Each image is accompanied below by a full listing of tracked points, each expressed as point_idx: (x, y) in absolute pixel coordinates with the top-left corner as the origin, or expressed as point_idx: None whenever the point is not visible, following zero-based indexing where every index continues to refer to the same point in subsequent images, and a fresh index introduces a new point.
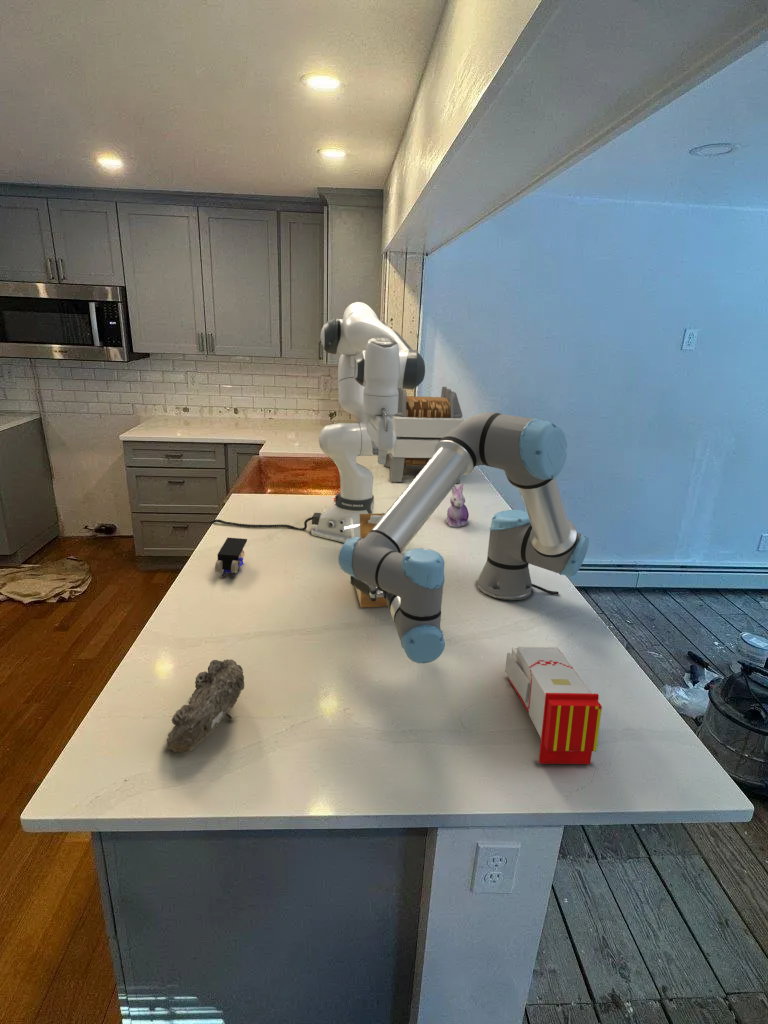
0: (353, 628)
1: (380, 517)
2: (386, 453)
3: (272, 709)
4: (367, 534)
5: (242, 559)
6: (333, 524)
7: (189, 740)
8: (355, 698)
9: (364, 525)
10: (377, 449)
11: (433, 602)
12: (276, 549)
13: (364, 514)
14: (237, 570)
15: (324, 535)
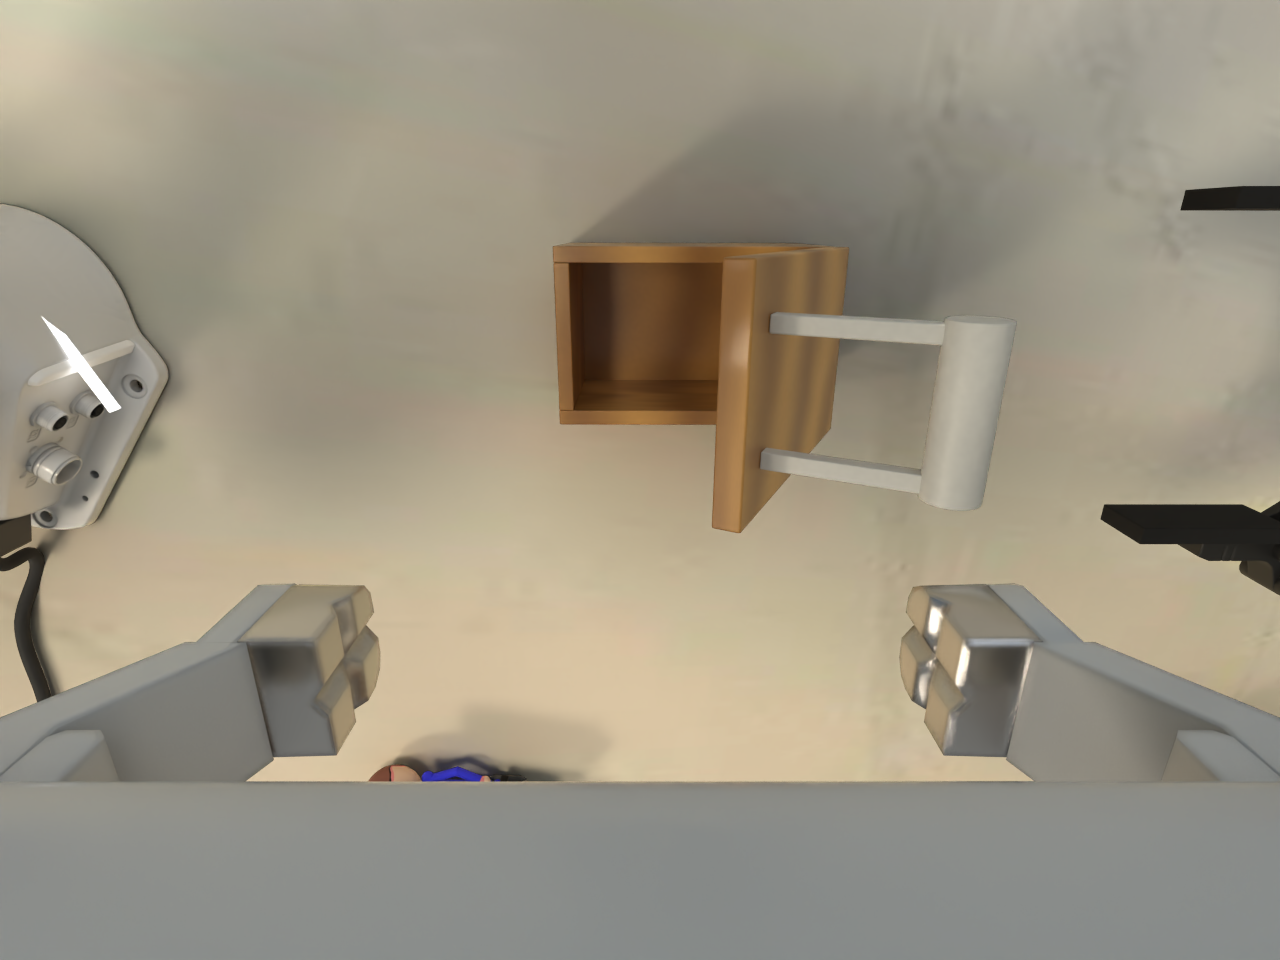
0: (920, 431)
1: (991, 442)
2: (1234, 709)
3: (1228, 658)
4: (784, 448)
5: (431, 774)
6: (62, 457)
7: None
8: (1277, 467)
9: (766, 481)
10: (328, 669)
11: None
12: None
13: (744, 504)
14: (507, 779)
15: (110, 476)
